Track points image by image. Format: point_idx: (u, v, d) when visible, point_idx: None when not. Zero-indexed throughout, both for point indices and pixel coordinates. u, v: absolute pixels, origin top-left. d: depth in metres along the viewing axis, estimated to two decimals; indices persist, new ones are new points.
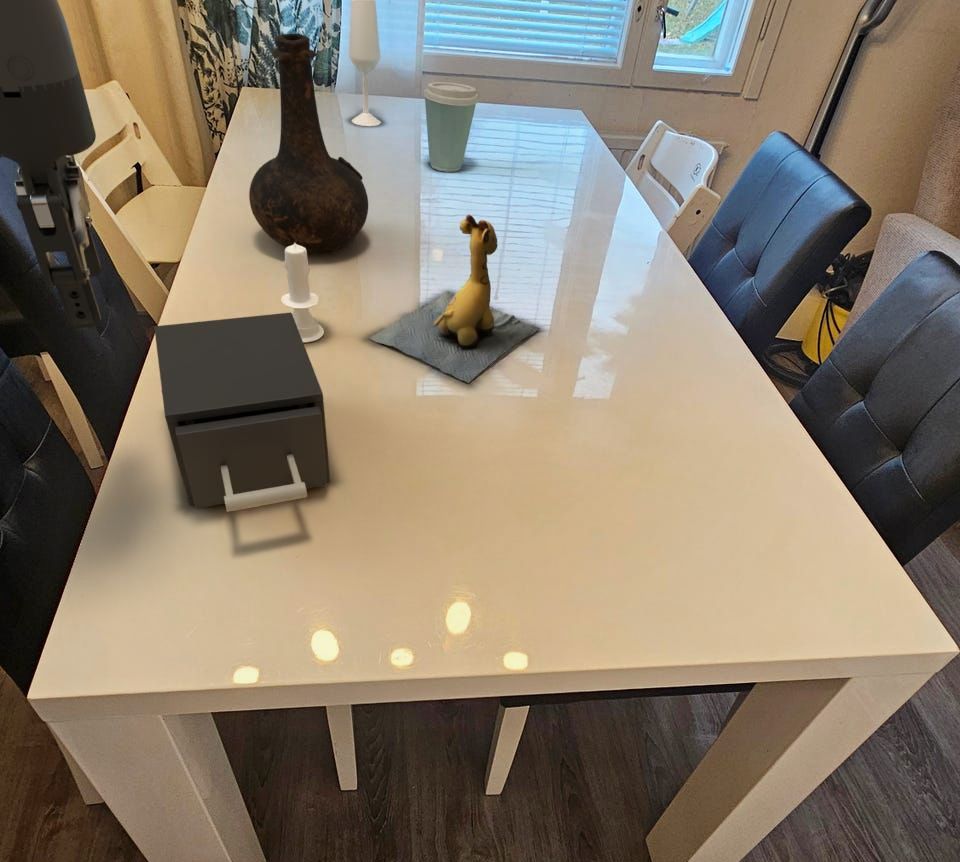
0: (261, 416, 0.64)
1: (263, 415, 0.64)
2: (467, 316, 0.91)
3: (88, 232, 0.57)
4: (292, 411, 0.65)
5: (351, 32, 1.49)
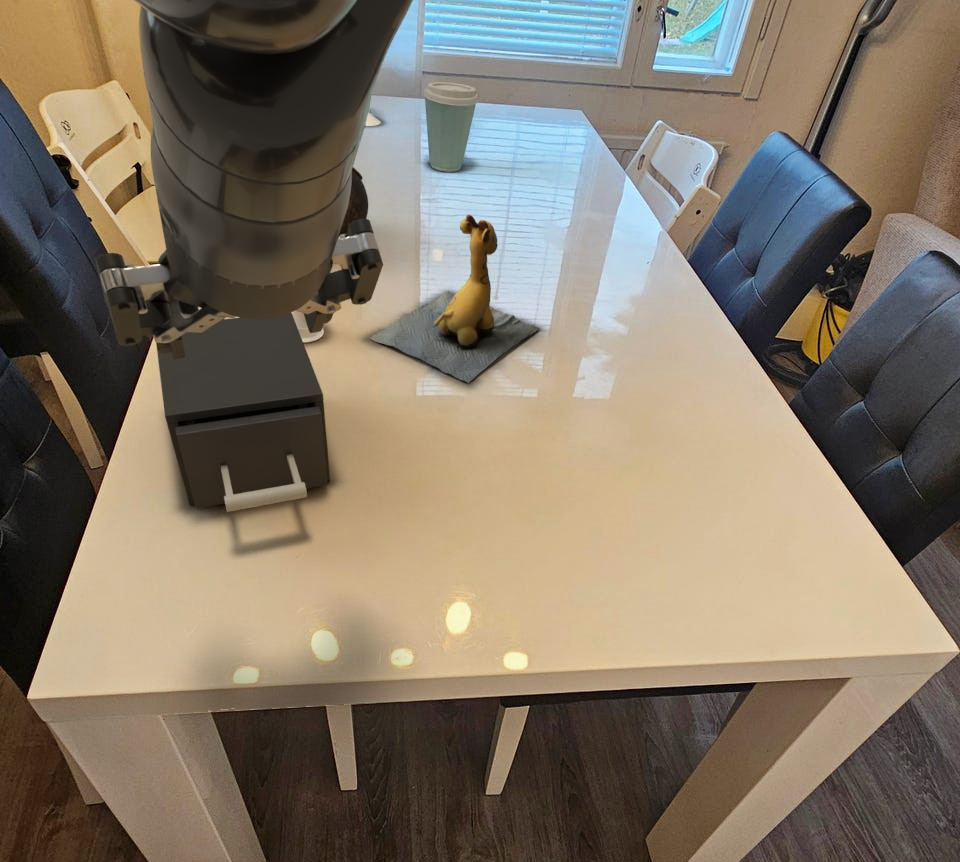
0: (261, 416, 0.64)
1: (263, 415, 0.64)
2: (467, 316, 0.91)
3: (316, 313, 0.43)
4: (292, 411, 0.65)
5: None
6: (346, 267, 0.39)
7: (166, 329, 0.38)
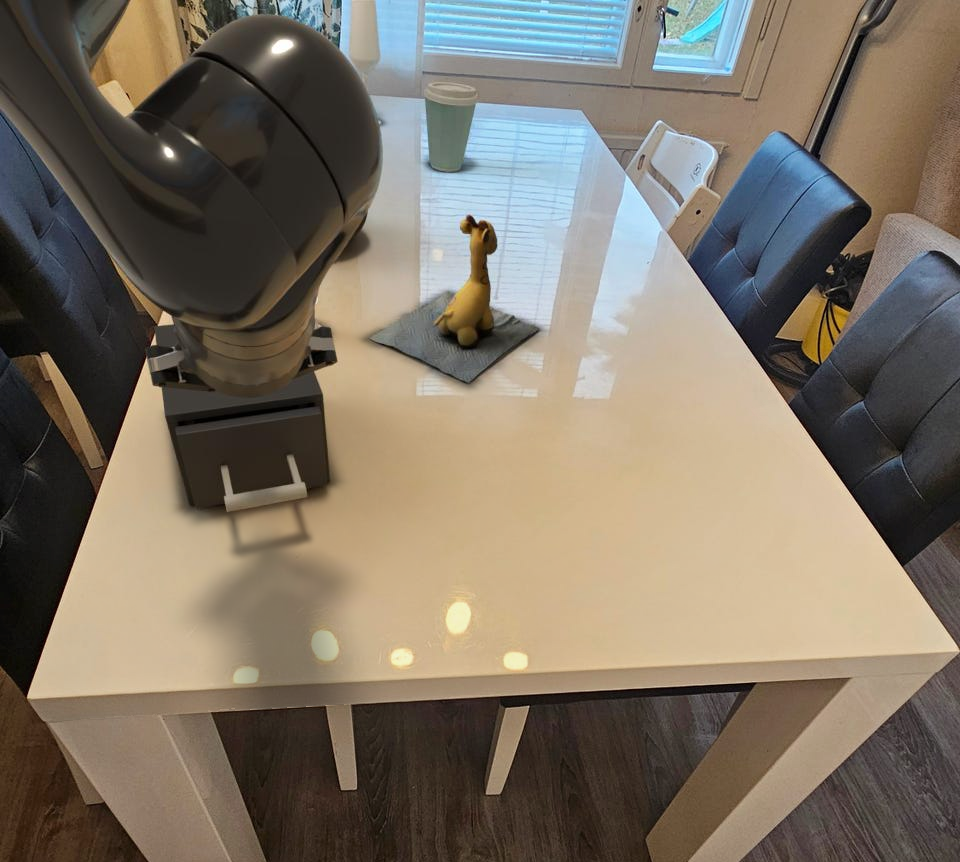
0: (261, 416, 0.64)
1: (263, 415, 0.64)
2: (467, 316, 0.91)
3: None
4: (292, 411, 0.65)
5: (351, 32, 1.49)
6: None
7: None
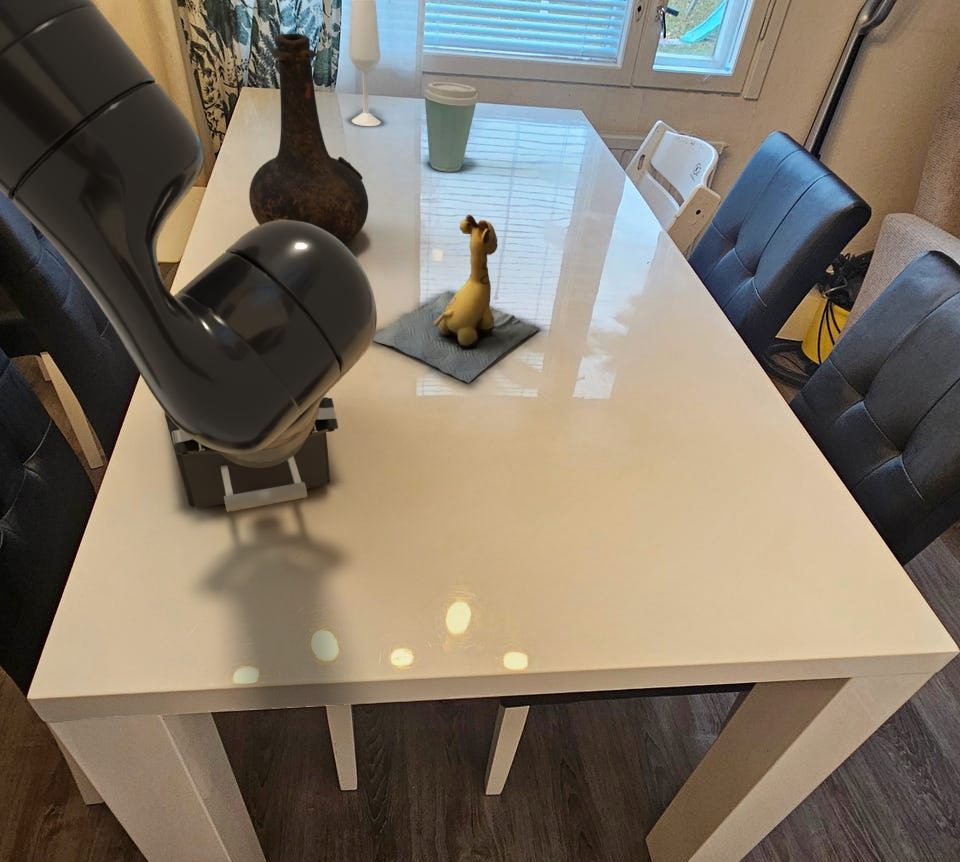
0: None
1: None
2: (467, 316, 0.91)
3: None
4: None
5: (351, 32, 1.49)
6: None
7: None
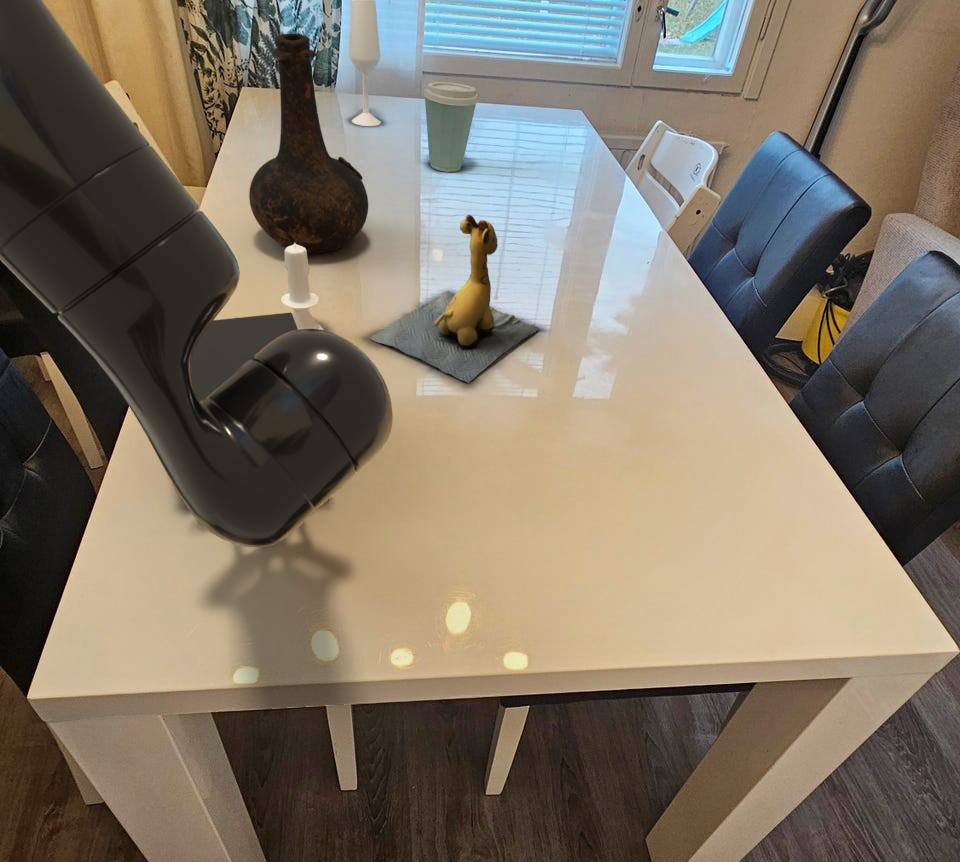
0: None
1: None
2: (467, 316, 0.91)
3: None
4: None
5: (351, 32, 1.49)
6: None
7: None
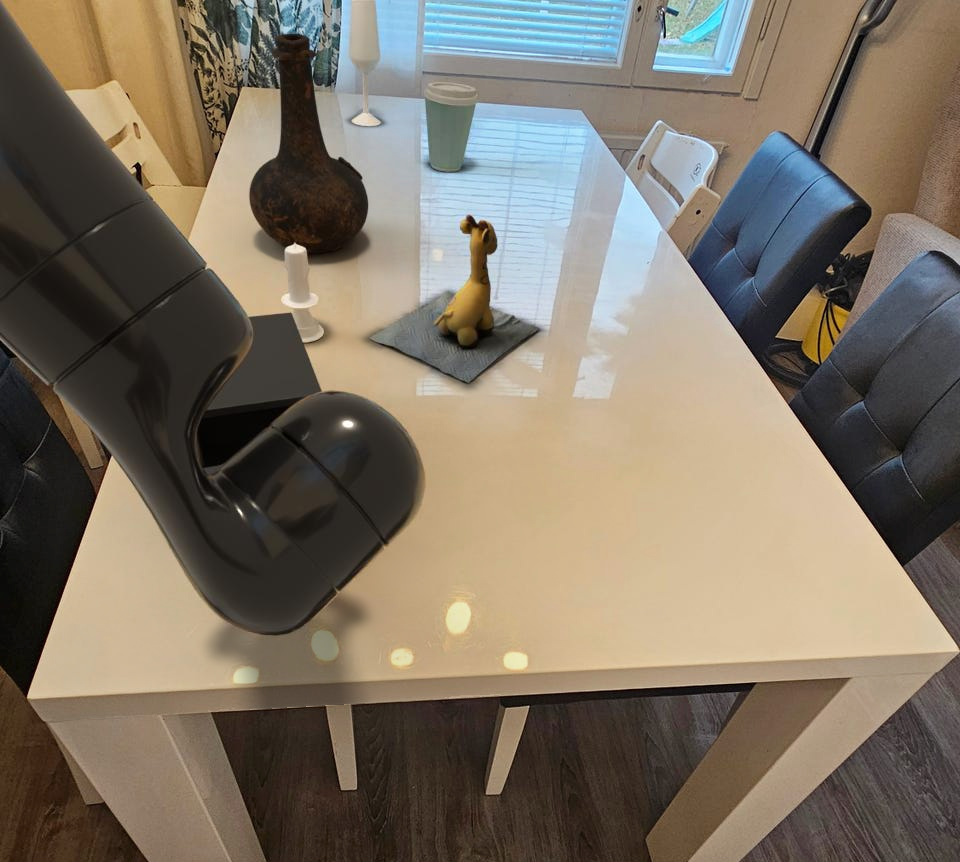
0: None
1: None
2: (467, 316, 0.91)
3: None
4: None
5: (351, 32, 1.49)
6: None
7: None
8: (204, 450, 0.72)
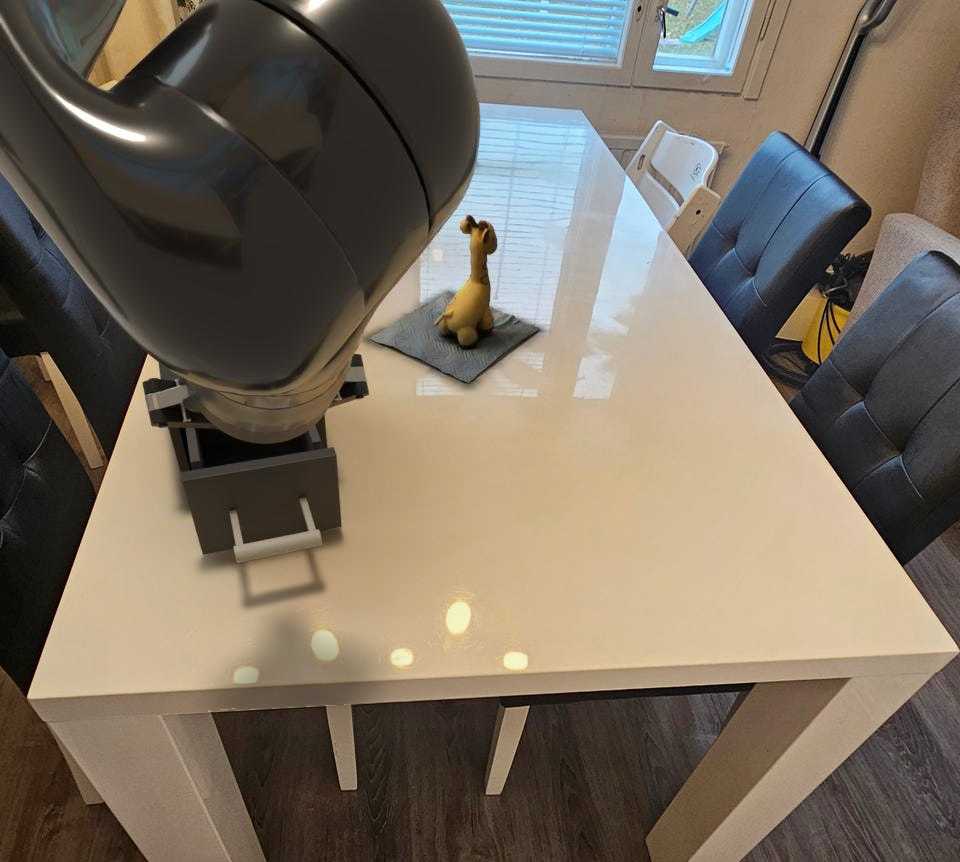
0: (273, 459, 0.60)
1: (275, 458, 0.60)
2: (467, 316, 0.91)
3: None
4: (306, 453, 0.61)
5: None
6: None
7: None
8: (204, 450, 0.72)
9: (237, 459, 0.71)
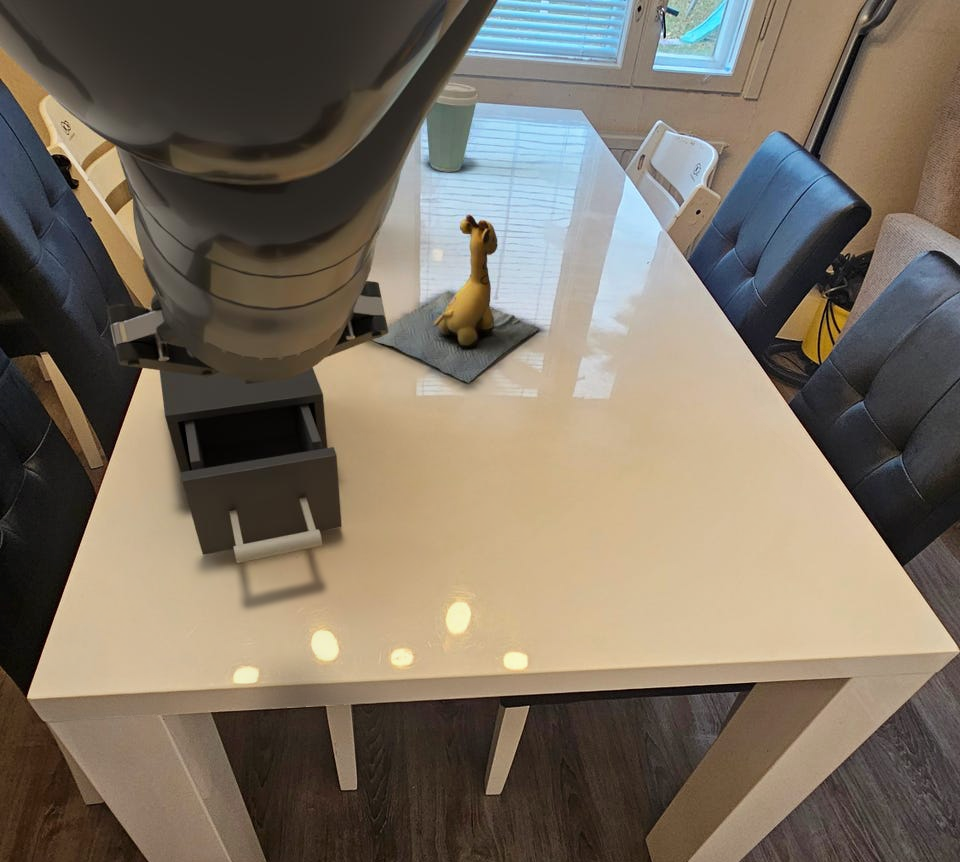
0: (273, 459, 0.60)
1: (275, 458, 0.60)
2: (467, 316, 0.91)
3: None
4: (306, 453, 0.61)
5: None
6: None
7: None
8: (204, 450, 0.72)
9: (237, 459, 0.71)
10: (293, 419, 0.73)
